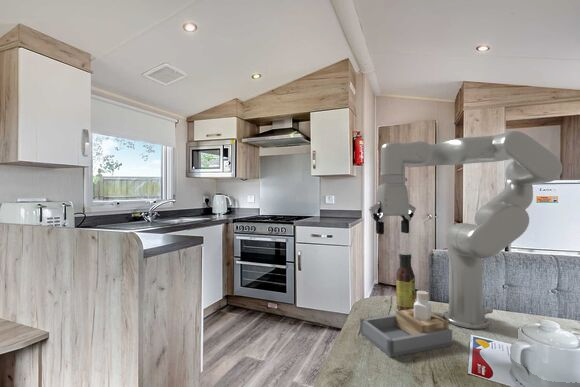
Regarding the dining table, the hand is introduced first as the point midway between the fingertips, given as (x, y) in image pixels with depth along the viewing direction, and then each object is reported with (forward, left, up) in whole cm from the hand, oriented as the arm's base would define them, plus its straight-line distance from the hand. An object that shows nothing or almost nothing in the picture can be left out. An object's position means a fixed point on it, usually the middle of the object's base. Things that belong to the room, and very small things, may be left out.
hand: (392, 233), depth 99 cm
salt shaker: (-1, +12, -25) cm, 28 cm away
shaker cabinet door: (-1, +12, -27) cm, 30 cm away
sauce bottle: (-10, -6, -28) cm, 31 cm away
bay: (+5, +12, -28) cm, 31 cm away
